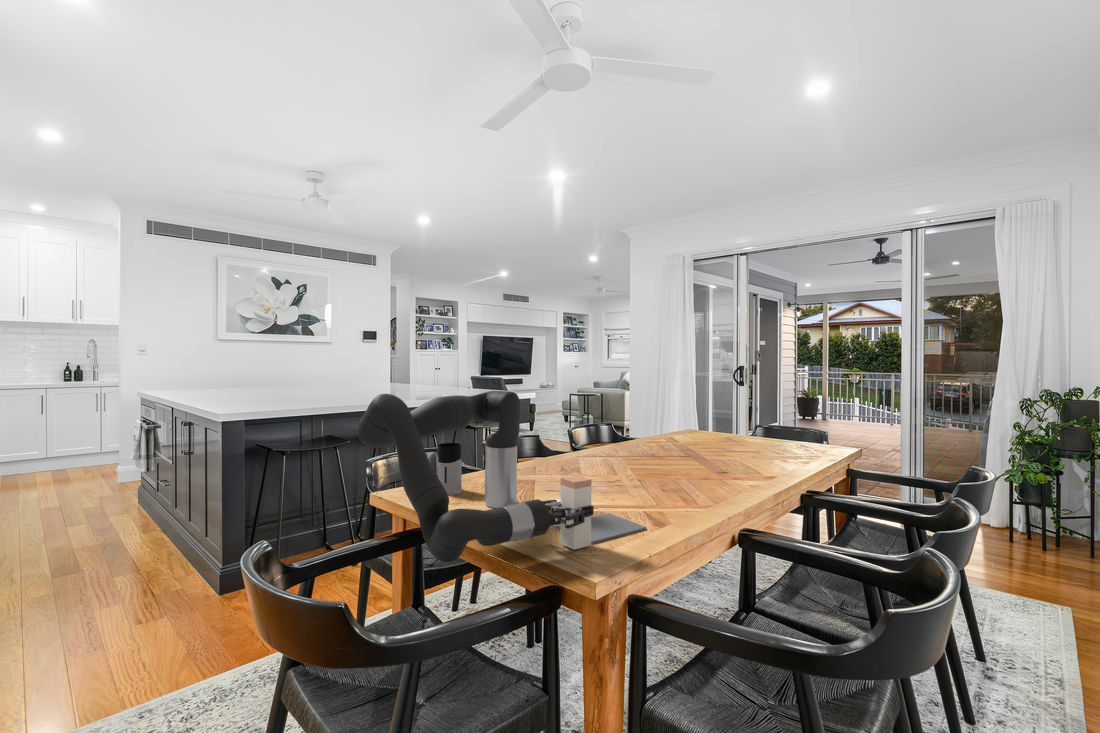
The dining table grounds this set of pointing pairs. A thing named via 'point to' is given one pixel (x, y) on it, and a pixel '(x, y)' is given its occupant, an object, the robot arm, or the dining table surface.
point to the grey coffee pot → (449, 467)
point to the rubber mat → (611, 527)
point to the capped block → (574, 496)
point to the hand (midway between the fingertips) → (584, 507)
